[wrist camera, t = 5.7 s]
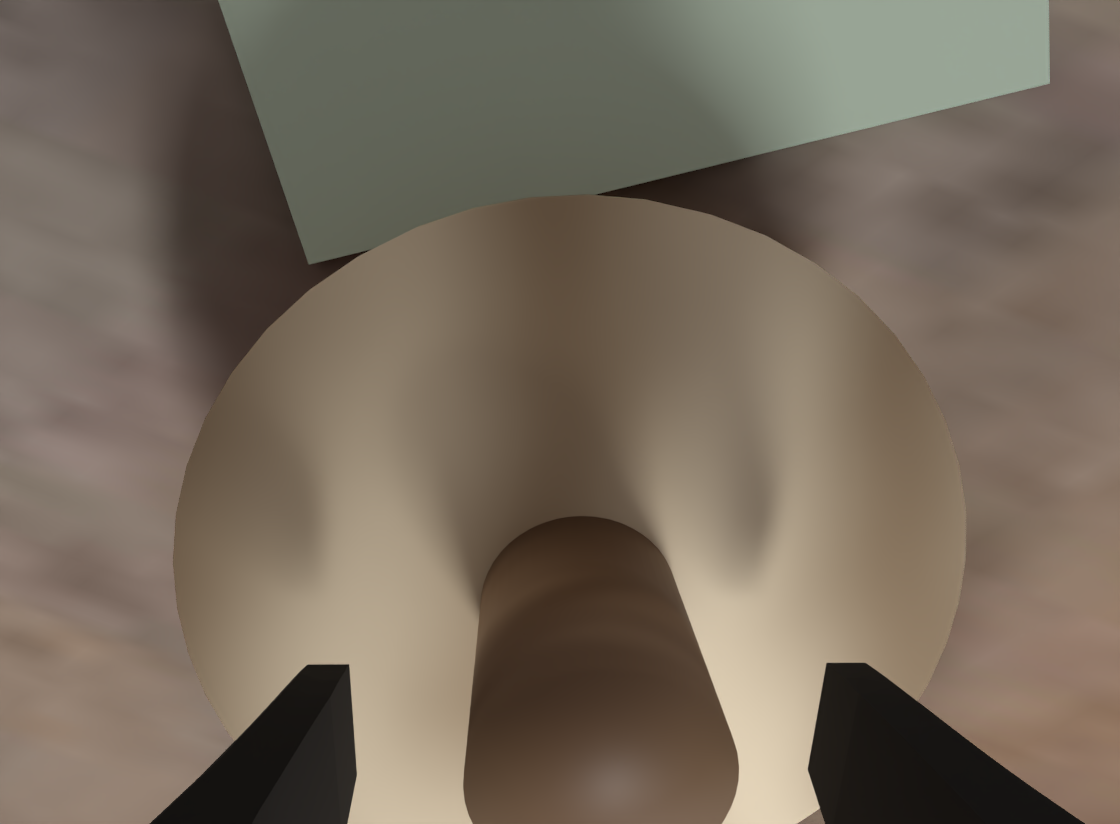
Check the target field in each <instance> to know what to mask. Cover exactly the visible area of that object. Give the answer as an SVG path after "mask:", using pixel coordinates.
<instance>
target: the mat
mask: <svg viewBox="0 0 1120 824" xmlns="http://www.w3.org/2000/svg"><path fill="white" fill-rule="evenodd" d="M218 1H219V4H220V7H221V10H222V13H223V16H224V19H225V22H226V25H227V27H228V30H229V33H230V36H231V39H232V42H233V45H234V48H235V51H236V54H237V57H238V60H239V63H240V65H241V68H242V71H243V74H244V77H245V80H246V83H247V86H248V89H249V92H250V95H251V98H252V100H253V103H254V106H255V109H256V112H257V115H258V118H259V121H260V124H261V127H262V130H263V133H264V136H265V138H266V141H267V144H268V147H269V150H270V153H271V156H272V159H273V162H274V165H275V168H276V171H277V174H278V176H279V179H280V182H281V185H282V188H283V191H284V194H285V197H286V200H287V203H288V206H289V209H290V212H291V214H292V217H293V220H294V223H295V226H296V229H297V232H298V235H299V238H300V241H301V244H302V247H303V249H304V252H305V255H306V258H307V261H308V264H309V265H310V264H314V263H318V262H322V261H326V260H330V259H334V258H338V257H342V256H346V255H351V254H355V253H359V252H363V251H367V250H371V249H374V248H376V247H378V246H380V245H382V244H384V243H386V242H388V241H390V240H392V239H394V238H396V237H398V236H400V235H402V234H404V233H406V232H408V231H410V230H412V229H414V228H416V227H418V226H420V225H423V224H426V223H429V222H432V221H435V220H438V219H441V218H444V217H447V216H450V215H453V214H456V213H459V212H462V211H465V210H468V209H471V208H475V207H480V206H485V205H491V204H496V203H501V202H507V201H512V200H517V199H522V198H528V197H542V196H562V195H582V194H591V195H596V194H600V193H604V192H608V191H612V190H616V189H620V188H624V187H628V186H633V185H637V184H641V183H645V182H649V181H653V180H657V179H661V178H665V177H669V176H673V175H678V174H682V173H686V172H690V171H694V170H698V169H702V168H706V167H710V166H714V165H718V164H722V163H727V162H731V161H735V160H739V159H743V158H747V157H751V156H755V155H759V154H763V153H767V152H772V151H776V150H780V149H784V148H788V147H792V146H796V145H800V144H804V143H808V142H812V141H816V140H821V139H825V138H829V137H833V136H837V135H841V134H845V133H849V132H853V131H857V130H861V129H866V128H870V127H874V126H878V125H882V124H886V123H890V122H894V121H898V120H902V119H906V118H910V117H915V116H919V115H923V114H927V113H931V112H935V111H939V110H943V109H947V108H951V107H955V106H960V105H964V104H968V103H972V102H976V101H980V100H984V99H988V98H992V97H996V96H1000V95H1004V94H1009V93H1013V92H1017V91H1021V90H1025V89H1029V88H1033V87H1037V86H1041V85H1045V84H1049V83H1050V64H1049V0H218Z"/></svg>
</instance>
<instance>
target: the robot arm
mask: <svg viewBox="0 0 1120 824" xmlns="http://www.w3.org/2000/svg"><path fill="white" fill-rule="evenodd" d="M808 772H809V775H810V778H811V782H812V785H813V788H814V791H815V794H816V797H817V800H818V804H819V807H820V810H821V812H822V815H823V818H824V821H825V824H1085V823H1083V822H1082V821H1080V820H1079V819H1077V818H1076V817H1074V816H1073V815H1071V814H1070V813H1068V812H1067V811H1065V810H1064V809H1063V808H1061V807H1060V806H1058V805H1057V804H1055V803H1054V802H1052V801H1051V800H1050V799H1048V798H1047V797H1045V796H1044V795H1042V794H1041V793H1039V792H1038V791H1037V790H1035V789H1034V788H1032V787H1031V786H1029V785H1028V784H1026V783H1025V782H1024V781H1022V780H1021V779H1020V778H1018V777H1017V776H1015V775H1014V774H1013V773H1011V772H1010V771H1008V770H1007V769H1006V768H1004V767H1003V766H1002V765H1000V764H999V763H998V762H996V761H995V760H993V759H992V758H991V757H989V756H988V755H987V754H985V753H984V752H983V751H981V750H980V749H979V748H977V747H976V746H975V745H973V744H972V743H971V742H969V741H968V740H967V739H965V738H964V737H963V736H962V735H960V734H959V733H958V732H956V731H955V730H954V729H952V728H951V727H950V726H949V725H947V724H946V723H945V722H943V721H942V720H941V719H939V718H938V717H937V716H936V715H934V714H933V713H932V712H930V711H929V710H928V709H927V708H925V707H924V706H923V705H921V704H920V703H919V702H918V701H916V700H915V699H914V698H912V697H911V696H910V695H909V694H907V693H906V692H905V691H903V690H902V689H901V688H899V687H898V686H897V685H896V684H894V683H893V682H892V681H890V680H889V679H888V678H886V677H885V676H884V675H882V674H881V673H879V672H878V671H877V670H875V669H874V668H872V667H871V666H870V665H868V664H867V663H826V668H825V674H824V679H823V685H822V691H821V696H820V702H819V708H818V713H817V719H816V725H815V730H814V736H813V742H812V747H811V753H810V759H809V764H808ZM356 777H357V768H356V754H355V739H354V725H353V711H352V697H351V682H350V668H349V664H307V665H306V666H305V667H304V668H303V669H302V670H301V671H300V672H299V673H298V674H297V675H296V676H295V677H294V678H293V679H292V680H291V682H290V683H289V684H288V685H287V686H286V687H285V688H284V689H283V690H282V691H281V692H280V694H279V695H278V696H277V697H276V698H275V699H274V700H273V701H272V702H271V703H270V704H269V706H268V707H267V708H266V709H265V710H264V711H263V712H262V713H261V714H260V715H259V716H258V717H257V718H256V720H255V721H254V722H253V723H252V724H251V725H250V726H249V727H248V728H247V729H246V730H245V731H244V732H243V733H242V734H241V735H240V736H239V737H238V738H237V739H236V740H235V741H234V743H233V744H232V745H231V746H230V747H229V748H228V749H227V750H226V751H225V752H224V753H223V754H222V755H221V756H220V757H219V758H218V759H217V760H216V761H215V762H214V763H213V764H212V765H211V766H210V767H209V768H208V769H207V770H206V771H205V772H204V773H203V774H202V775H201V776H200V777H199V778H198V779H197V780H196V781H195V782H194V783H193V784H192V785H191V786H189V787H188V788H187V789H186V790H185V791H184V792H183V793H182V794H181V795H180V796H179V797H178V798H177V799H176V800H175V801H173V802H172V803H171V804H170V805H169V806H168V807H167V808H166V809H165V810H164V811H163V812H162V813H161V814H160V815H158V816H157V817H156V818H155V819H154V820H153V821H152V822H151V823H150V824H347V823H348V818H349V813H350V808H351V803H352V798H353V793H354V787H355V782H356Z"/></svg>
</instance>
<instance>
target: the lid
mask: <svg viewBox="0 0 1120 824" xmlns="http://www.w3.org/2000/svg"><path fill="white" fill-rule="evenodd" d="M965 559H966V507H965V501H964V494H963V487H962V480H961V473H960V467H959V463H958V460H957V456H956V453H955V450H954V447H953V443H952V440H951V437H950V434H949V430H948V427H947V424H946V421H945V418H944V416H943V414H942V412H941V410H940V408H939V406H938V404H937V402H936V400H935V398H934V396H933V394H932V392H931V390H930V388H929V386H928V384H927V382H926V380H925V377H924V376H923V374H922V373H921V371H920V370H919V368H918V367H917V366H916V364H915V363H914V361H913V360H912V358H911V357H910V356H909V354H908V353H907V351H906V350H905V348H904V347H903V346H902V344H901V343H900V341H899V340H898V338H897V337H896V336H895V334H894V333H893V332H892V331H891V330H890V329H889V328H888V327H887V326H886V325H885V324H884V323H883V322H882V321H881V320H880V319H879V317H878V316H877V315H876V314H875V313H874V312H873V311H872V310H871V309H870V308H869V307H868V306H867V305H866V304H865V303H864V302H863V301H862V300H861V299H860V298H859V297H858V296H857V295H856V294H855V293H853V292H852V291H851V290H849V289H848V288H847V287H845V286H844V285H843V284H842V283H840V282H839V281H838V280H836V279H835V278H834V277H833V276H831V275H830V274H829V273H827V272H826V271H825V270H823V269H822V268H821V267H820V266H818V265H817V264H816V263H814V262H812V261H810V260H809V259H807V258H805V257H803V256H802V255H800V254H798V253H796V252H794V251H793V250H791V249H789V248H787V247H785V246H784V245H782V244H780V243H778V242H777V241H775V240H773V239H771V238H769V237H768V236H766V235H763V234H760V233H758V232H755V231H753V230H750V229H747V228H745V227H742V226H740V225H737V224H734V223H732V222H729V221H727V220H724V219H721V218H719V217H716V216H714V215H711V214H707V213H702V212H698V211H694V210H690V209H685V208H681V207H676V206H672V205H668V204H663V203H659V202H655V201H650V200H646V199H637V198H625V197H614V196H602V195H591V194H582V195H562V196H542V197H528V198H522V199H517V200H512V201H507V202H501V203H496V204H491V205H485V206H480V207H475V208H471V209H468V210H465V211H462V212H459V213H456V214H453V215H450V216H447V217H444V218H441V219H438V220H435V221H432V222H429V223H426V224H423V225H420V226H418V227H416V228H414V229H412V230H410V231H408V232H406V233H404V234H402V235H400V236H398V237H396V238H394V239H392V240H390V241H388V242H386V243H384V244H382V245H380V246H378V247H376V248H374V249H372V250H370V251H368V252H366V253H364V254H362V255H360V256H358V257H356V258H355V259H354V260H352V261H351V262H349V263H348V264H346V265H345V266H343V267H342V268H340V269H339V270H338V271H336V272H335V273H333V274H332V275H330V276H329V277H327V278H326V279H324V280H323V281H322V282H320V283H319V284H317V285H316V286H314V287H313V288H311V289H310V290H309V291H307V292H306V293H305V294H304V295H303V296H302V297H301V298H300V299H299V300H298V301H297V302H296V303H294V304H293V305H292V306H291V307H290V308H289V309H288V310H287V311H286V312H285V313H284V314H283V315H281V316H280V317H279V318H278V319H277V320H276V321H275V322H274V323H273V324H272V325H271V326H270V327H269V328H267V329H266V331H265V332H264V333H263V334H262V336H261V337H260V338H259V339H258V341H257V342H256V343H255V344H254V346H253V347H252V348H251V349H250V351H249V352H248V353H247V354H246V356H245V357H244V358H243V359H242V361H241V362H240V363H239V364H238V365H237V367H236V368H235V369H234V370H233V372H232V373H231V375H230V377H229V378H228V380H227V382H226V384H225V385H224V387H223V389H222V390H221V392H220V394H219V396H218V397H217V399H216V401H215V402H214V404H213V406H212V408H211V409H210V411H209V413H208V414H207V416H206V418H205V420H204V423H203V425H202V428H201V431H200V433H199V436H198V438H197V441H196V443H195V446H194V448H193V451H192V454H191V456H190V459H189V461H188V464H187V467H186V471H185V476H184V480H183V485H182V489H181V494H180V498H179V503H178V507H177V512H176V521H175V537H174V553H173V568H174V579H175V590H176V600H177V610H178V614H179V618H180V622H181V626H182V630H183V634H184V638H185V642H186V646H187V650H188V653H189V656H190V658H191V661H192V663H193V666H194V668H195V670H196V673H197V675H198V678H199V680H200V683H201V685H202V687H203V690H204V692H205V695H206V696H207V698H208V700H209V701H210V703H211V705H212V707H213V708H214V710H215V712H216V713H217V715H218V717H219V718H220V720H221V722H222V724H223V725H224V727H225V729H226V730H227V732H228V733H229V735H230V736H231V737H232V739H233V740H234V741H235V740H236V739H237V738H238V737H239V736H240V735H241V734H242V733H243V732H244V731H245V730H246V729H247V728H248V727H249V726H250V725H251V724H252V723H253V722H254V721H255V720H256V718H257V717H258V716H259V715H260V714H261V713H262V712H263V711H264V710H265V709H266V708H267V707H268V706H269V704H270V703H271V702H272V701H273V700H274V699H275V698H276V697H277V696H278V695H279V694H280V692H281V691H282V690H283V689H284V688H285V687H286V686H287V685H288V684H289V683H290V682H291V680H292V679H293V678H294V677H295V676H296V675H297V674H298V673H299V672H300V671H301V670H302V669H303V668H304V667H305V666H306V665H307V664H349V668H350V682H351V697H352V711H353V725H354V739H355V754H356V768H357V777H356V782H355V787H354V793H353V798H352V803H351V808H350V813H349V818H348V823H347V824H797V823H798V822H800V821H802V820H803V819H805V818H806V817H808V816H809V815H811V814H812V813H814V812H815V811H817V810H818V809H819V808H820V807H819V804H818V800H817V797H816V794H815V791H814V788H813V785H812V782H811V778H810V775H809V772H808V764H809V759H810V753H811V747H812V742H813V736H814V730H815V725H816V719H817V713H818V708H819V702H820V696H821V691H822V685H823V679H824V674H825V668H826V663H867V664H868V665H870V666H871V667H872V668H874V669H875V670H877V671H878V672H879V673H881V674H882V675H884V676H885V677H886V678H888V679H889V680H890V681H892V682H893V683H894V684H896V685H897V686H898V687H899V688H901V689H902V690H903V691H905V692H906V693H907V694H909V695H910V696H911V697H912V698H914V699H915V700H916V701H918V700H919V698H920V696H921V695H922V693H923V692H924V690H925V688H926V687H927V685H928V683H929V681H930V679H931V677H932V675H933V672H934V670H935V668H936V666H937V663H938V661H939V659H940V657H941V655H942V652H943V650H944V648H945V646H946V643H947V640H948V637H949V634H950V630H951V627H952V623H953V620H954V617H955V613H956V610H957V607H958V603H959V599H960V593H961V586H962V579H963V572H964V566H965Z"/></svg>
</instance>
